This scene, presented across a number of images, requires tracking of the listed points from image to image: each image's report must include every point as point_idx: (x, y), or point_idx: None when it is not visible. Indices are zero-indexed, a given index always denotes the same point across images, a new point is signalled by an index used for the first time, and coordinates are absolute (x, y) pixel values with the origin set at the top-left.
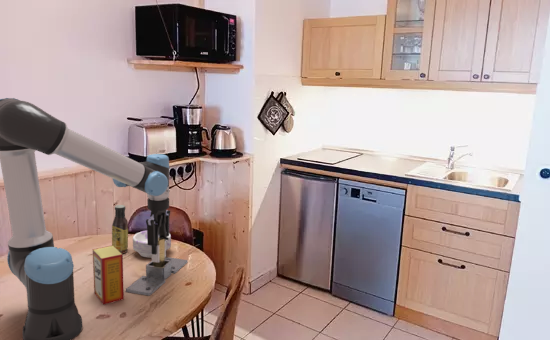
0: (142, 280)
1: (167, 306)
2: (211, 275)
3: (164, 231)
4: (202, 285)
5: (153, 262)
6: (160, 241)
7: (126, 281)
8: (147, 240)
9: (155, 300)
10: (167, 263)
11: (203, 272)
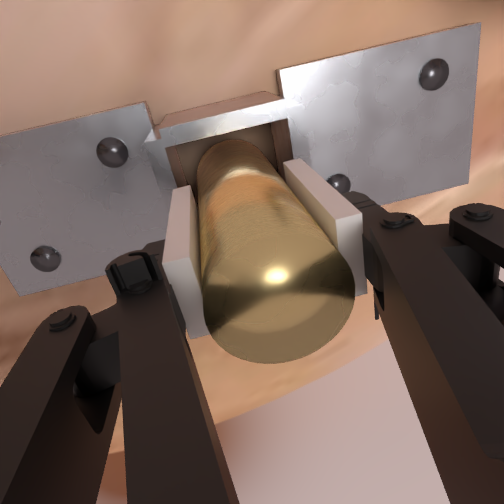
0: (91, 155)
1: None
2: (360, 353)
3: (410, 388)
4: (260, 381)
5: (206, 171)
6: (240, 355)
7: (32, 31)
8: (10, 372)
9: (20, 334)
10: None
11: (374, 313)
